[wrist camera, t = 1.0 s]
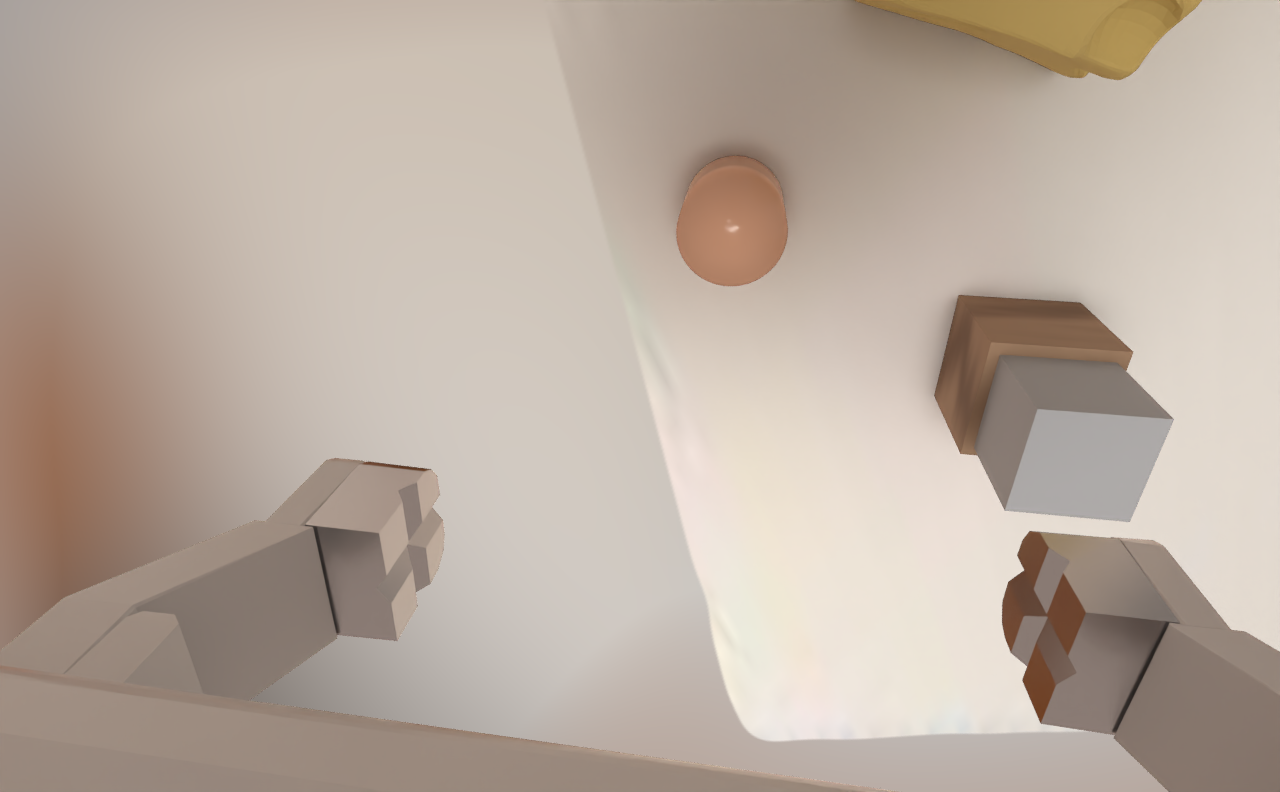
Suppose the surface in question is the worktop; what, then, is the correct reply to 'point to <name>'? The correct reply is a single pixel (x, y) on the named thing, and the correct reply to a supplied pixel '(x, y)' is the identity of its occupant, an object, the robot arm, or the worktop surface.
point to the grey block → (1069, 437)
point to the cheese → (1058, 28)
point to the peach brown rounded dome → (732, 222)
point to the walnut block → (1011, 350)
